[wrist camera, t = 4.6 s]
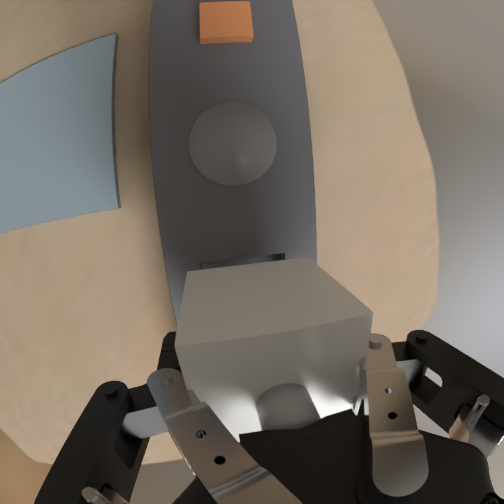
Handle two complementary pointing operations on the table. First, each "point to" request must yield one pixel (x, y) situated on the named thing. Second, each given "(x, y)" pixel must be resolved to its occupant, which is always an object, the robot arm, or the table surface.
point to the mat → (59, 137)
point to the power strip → (229, 136)
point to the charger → (271, 343)
